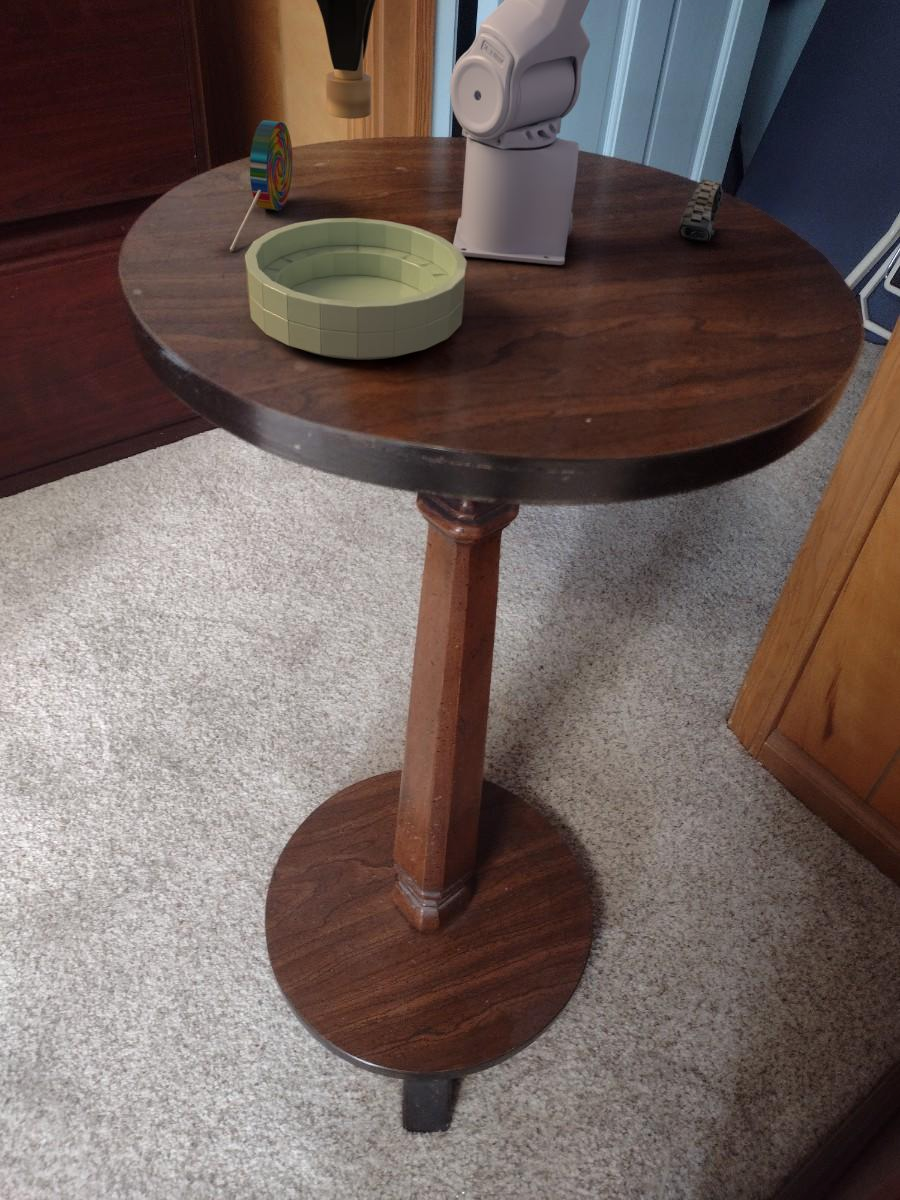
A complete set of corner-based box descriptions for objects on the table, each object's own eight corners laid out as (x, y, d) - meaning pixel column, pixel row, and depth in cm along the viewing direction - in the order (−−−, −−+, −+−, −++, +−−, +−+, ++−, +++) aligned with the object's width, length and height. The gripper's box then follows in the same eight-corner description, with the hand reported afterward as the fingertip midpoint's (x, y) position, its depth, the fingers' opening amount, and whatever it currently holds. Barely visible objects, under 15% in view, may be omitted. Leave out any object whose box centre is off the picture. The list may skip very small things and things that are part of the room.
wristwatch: (677, 247, 90) (678, 219, 85) (702, 199, 90) (705, 168, 86) (708, 259, 89) (710, 231, 85) (733, 211, 90) (737, 180, 85)
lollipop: (230, 284, 82) (281, 176, 90) (246, 286, 82) (296, 178, 90) (213, 211, 76) (269, 103, 84) (231, 213, 76) (285, 105, 84)
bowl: (468, 284, 78) (473, 228, 75) (453, 378, 66) (458, 316, 63) (275, 266, 78) (272, 209, 75) (226, 356, 66) (220, 293, 63)
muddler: (373, 108, 90) (374, 10, 85) (367, 120, 87) (367, 19, 82) (331, 104, 91) (329, 6, 85) (323, 116, 88) (321, 15, 82)
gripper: (315, -136, 83) (319, 43, 92) (278, -120, 72) (287, 81, 81) (396, -129, 83) (393, 49, 92) (372, -112, 72) (370, 88, 81)
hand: (348, 65), depth 86 cm, fingers closed on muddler, 2 cm apart
